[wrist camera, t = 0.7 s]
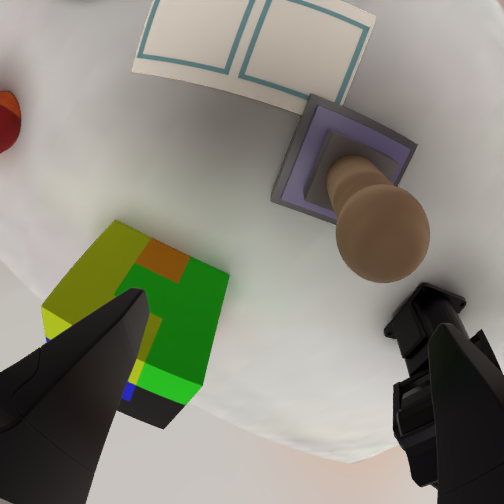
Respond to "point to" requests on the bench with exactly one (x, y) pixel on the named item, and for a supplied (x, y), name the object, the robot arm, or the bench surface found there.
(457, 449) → the robot arm
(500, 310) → the bench surface
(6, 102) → the paper cup
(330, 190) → the stamp
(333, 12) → the print card
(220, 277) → the puzzle toy
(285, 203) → the ink pad
